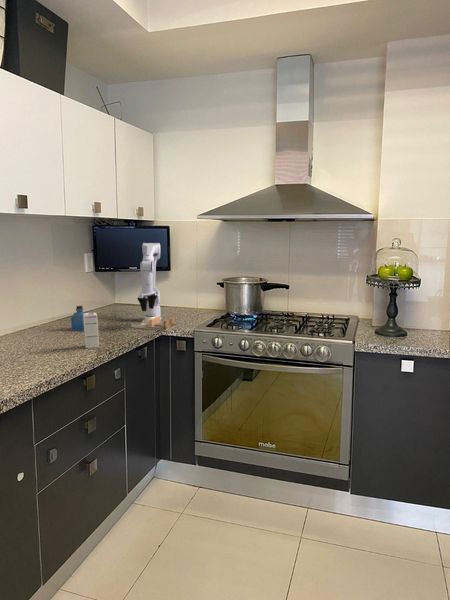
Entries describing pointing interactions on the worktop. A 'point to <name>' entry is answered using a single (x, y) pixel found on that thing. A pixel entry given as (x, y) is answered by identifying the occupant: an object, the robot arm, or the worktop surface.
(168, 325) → the lane
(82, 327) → the perfume bottle
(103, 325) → the worktop surface
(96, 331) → the syrup box
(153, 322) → the pusher
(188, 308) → the worktop surface
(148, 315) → the jar
